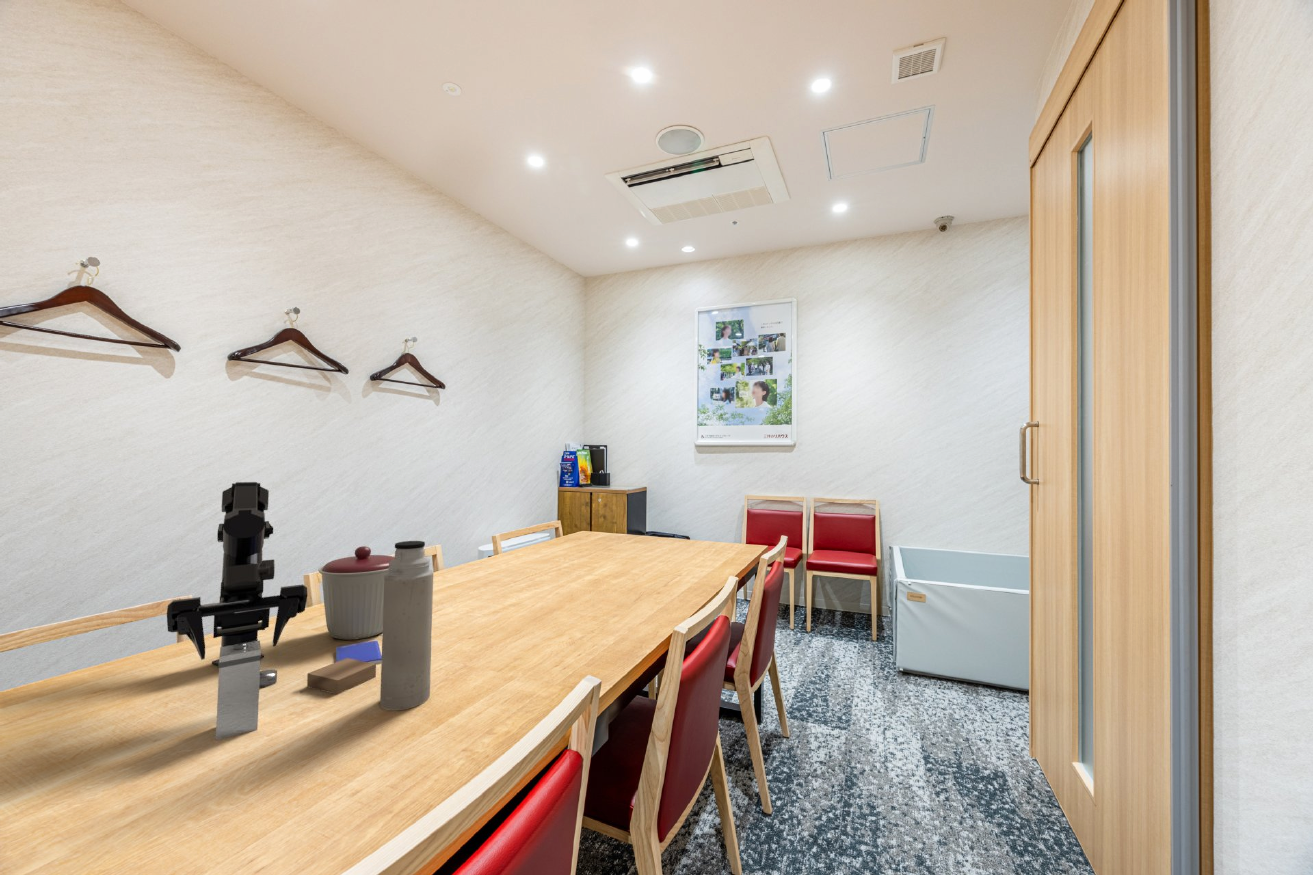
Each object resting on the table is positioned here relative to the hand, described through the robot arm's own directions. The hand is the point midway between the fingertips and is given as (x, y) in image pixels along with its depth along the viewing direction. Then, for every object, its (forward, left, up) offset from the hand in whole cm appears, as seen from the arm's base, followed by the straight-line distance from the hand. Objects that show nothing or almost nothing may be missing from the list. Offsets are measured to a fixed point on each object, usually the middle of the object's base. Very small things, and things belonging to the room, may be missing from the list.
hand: (240, 651), depth 84 cm
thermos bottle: (+20, +15, -11) cm, 28 cm away
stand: (+3, +16, -11) cm, 20 cm away
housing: (+3, -2, -11) cm, 12 cm away
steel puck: (-10, +10, -11) cm, 18 cm away
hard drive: (-5, +26, -12) cm, 29 cm away
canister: (-18, +37, -11) cm, 42 cm away
